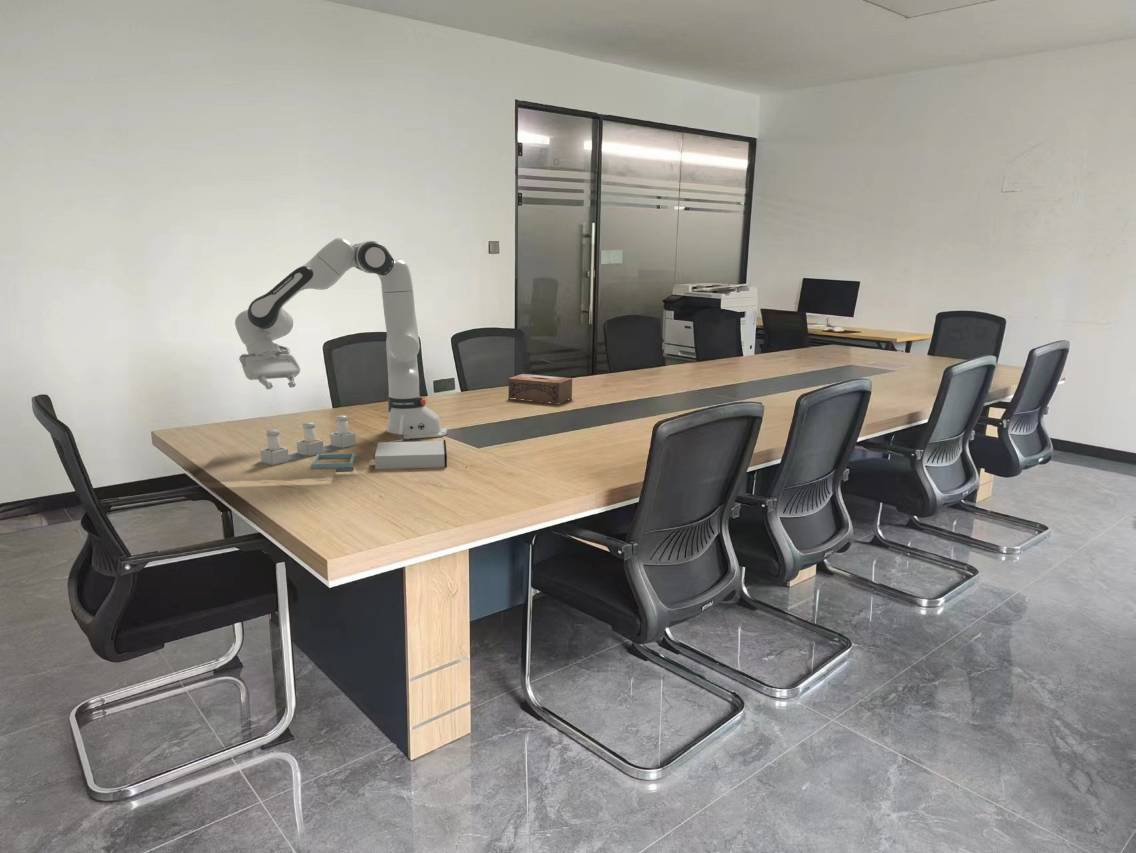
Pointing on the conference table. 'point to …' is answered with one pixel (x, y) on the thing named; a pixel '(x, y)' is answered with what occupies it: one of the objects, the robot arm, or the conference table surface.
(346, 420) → the peg
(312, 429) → the marked fuse
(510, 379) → the tissue box cover
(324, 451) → the fuse holder
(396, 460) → the disc drive
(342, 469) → the tray
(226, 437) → the conference table surface
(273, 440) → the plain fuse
